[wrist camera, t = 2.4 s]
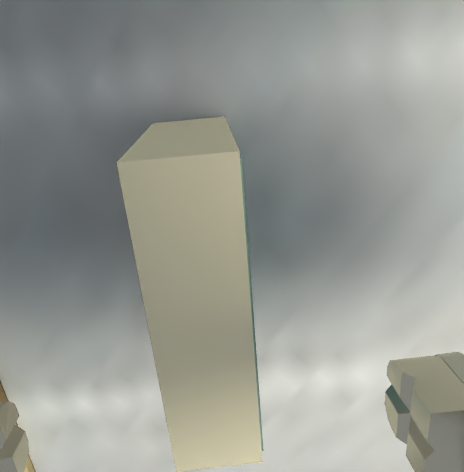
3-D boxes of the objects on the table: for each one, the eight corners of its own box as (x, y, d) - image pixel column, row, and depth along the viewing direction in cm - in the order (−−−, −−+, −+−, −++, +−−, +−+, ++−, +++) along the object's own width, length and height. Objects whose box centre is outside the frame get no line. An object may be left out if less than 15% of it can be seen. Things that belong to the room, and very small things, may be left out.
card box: (153, 122, 14) (116, 162, 8) (226, 116, 14) (242, 150, 8) (185, 336, 18) (176, 471, 12) (244, 330, 18) (264, 462, 12)
